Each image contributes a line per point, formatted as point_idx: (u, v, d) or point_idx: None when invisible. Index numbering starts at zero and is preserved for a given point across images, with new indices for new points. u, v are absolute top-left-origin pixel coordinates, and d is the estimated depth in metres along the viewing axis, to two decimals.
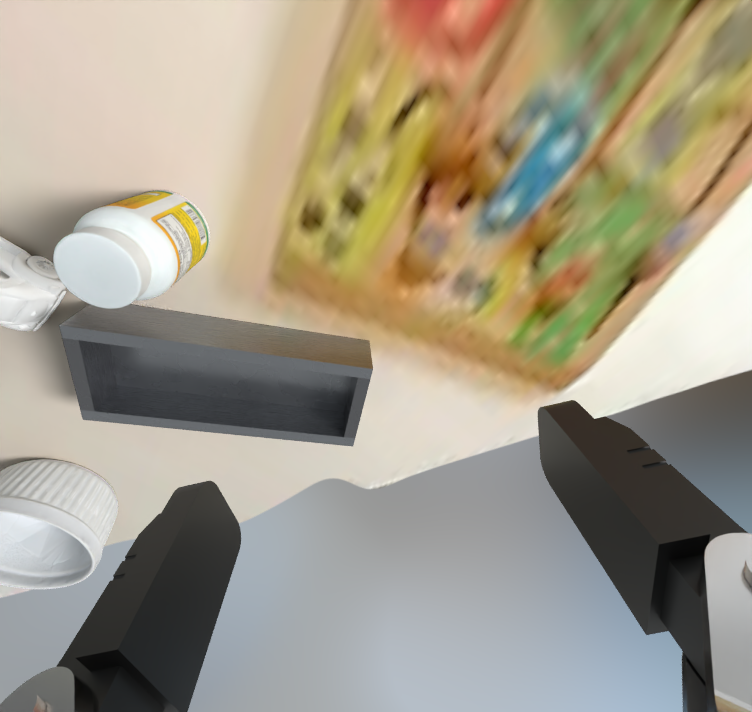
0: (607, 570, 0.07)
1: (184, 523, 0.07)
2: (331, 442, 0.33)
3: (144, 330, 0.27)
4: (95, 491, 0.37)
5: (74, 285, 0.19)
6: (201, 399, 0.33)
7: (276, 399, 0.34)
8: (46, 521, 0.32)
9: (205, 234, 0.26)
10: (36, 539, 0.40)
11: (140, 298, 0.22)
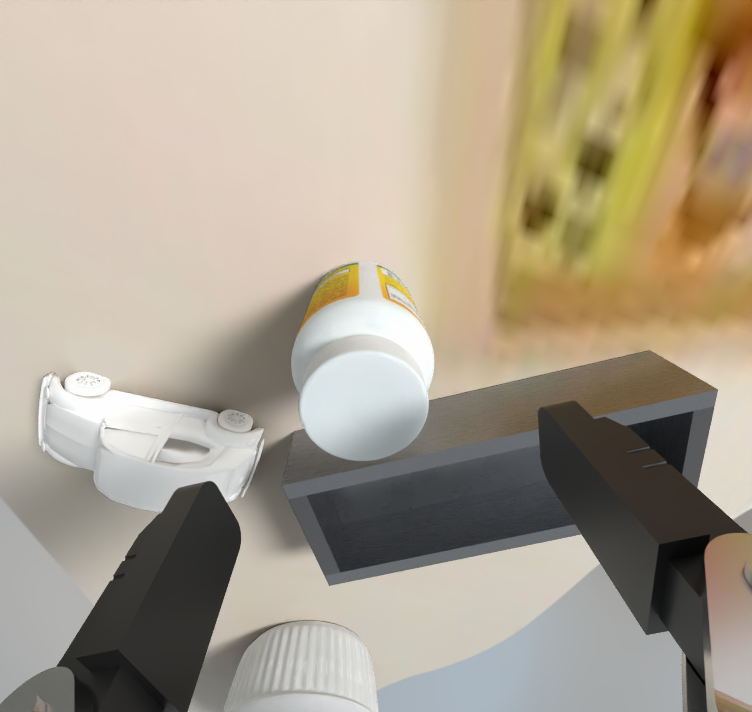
0: (607, 571, 0.07)
1: (184, 523, 0.07)
2: None
3: None
4: (347, 651, 0.30)
5: (334, 442, 0.12)
6: (445, 509, 0.24)
7: (538, 476, 0.24)
8: None
9: (411, 297, 0.18)
10: None
11: None
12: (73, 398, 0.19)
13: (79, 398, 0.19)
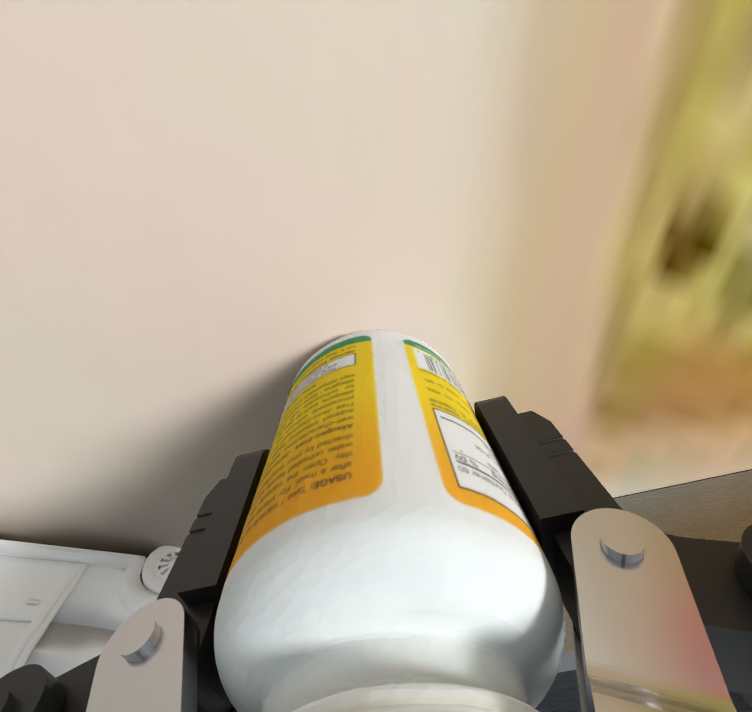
0: None
1: (252, 484, 0.08)
2: None
3: None
4: None
5: None
6: None
7: None
8: None
9: None
10: None
11: None
12: None
13: None
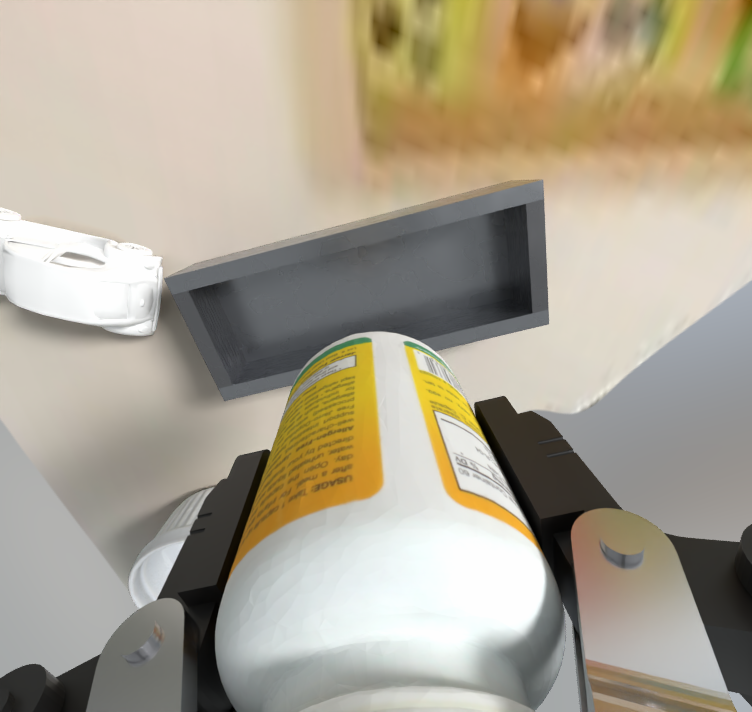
0: None
1: (252, 484, 0.08)
2: (517, 328, 0.24)
3: (250, 254, 0.22)
4: None
5: None
6: None
7: (423, 313, 0.27)
8: None
9: None
10: None
11: None
12: None
13: None
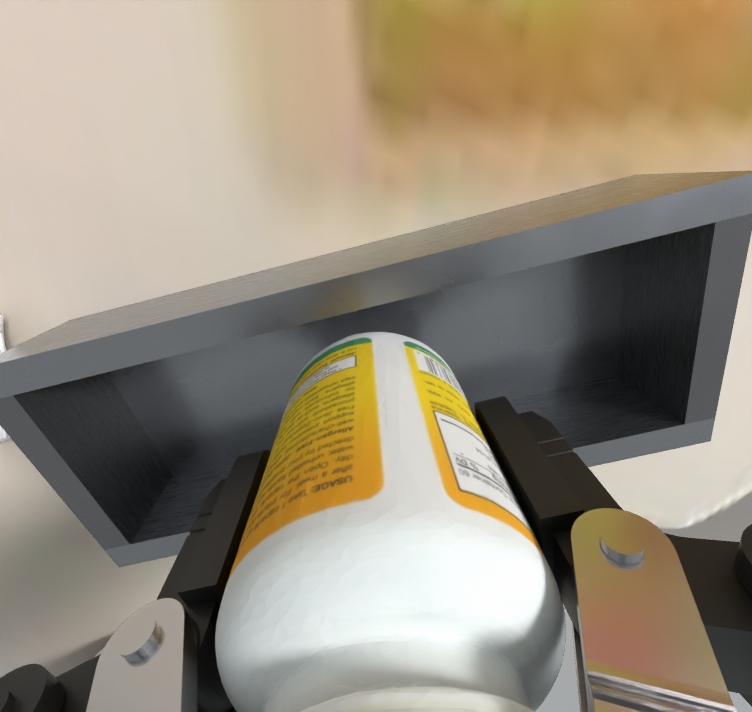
0: None
1: (252, 484, 0.08)
2: (652, 448, 0.13)
3: (140, 320, 0.11)
4: None
5: None
6: None
7: None
8: None
9: None
10: None
11: None
12: None
13: None
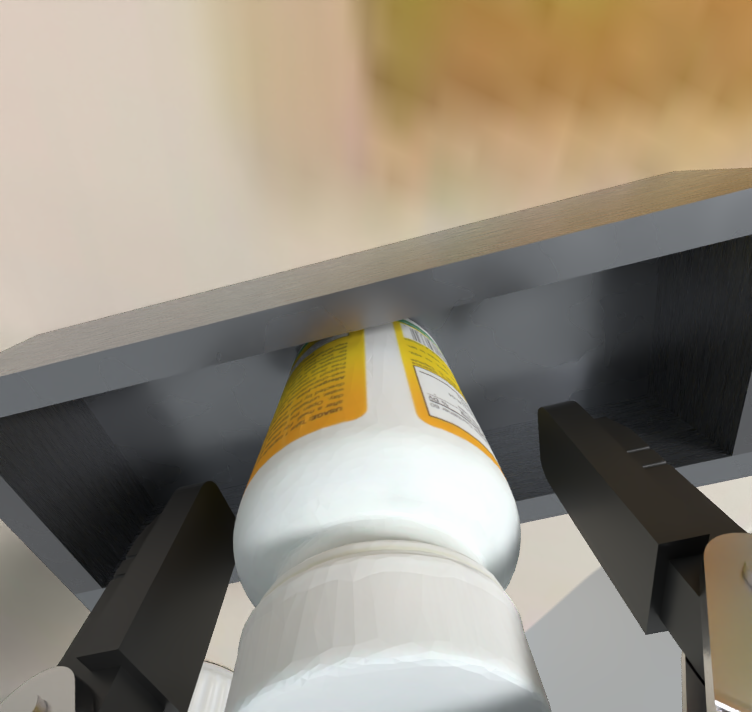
0: (606, 570, 0.07)
1: (184, 523, 0.07)
2: (694, 482, 0.11)
3: (106, 341, 0.09)
4: (209, 705, 0.20)
5: None
6: None
7: (479, 422, 0.14)
8: None
9: None
10: None
11: None
12: None
13: None
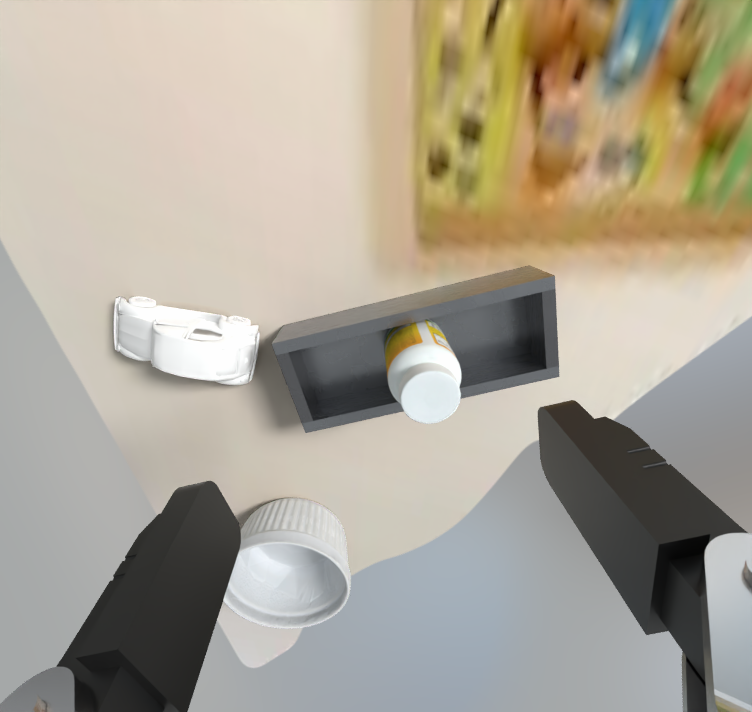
0: (607, 570, 0.07)
1: (184, 523, 0.07)
2: (535, 379, 0.31)
3: (334, 325, 0.29)
4: (324, 516, 0.39)
5: (416, 414, 0.24)
6: None
7: None
8: (301, 544, 0.34)
9: None
10: (288, 582, 0.42)
11: None
12: (135, 307, 0.30)
13: (138, 307, 0.30)
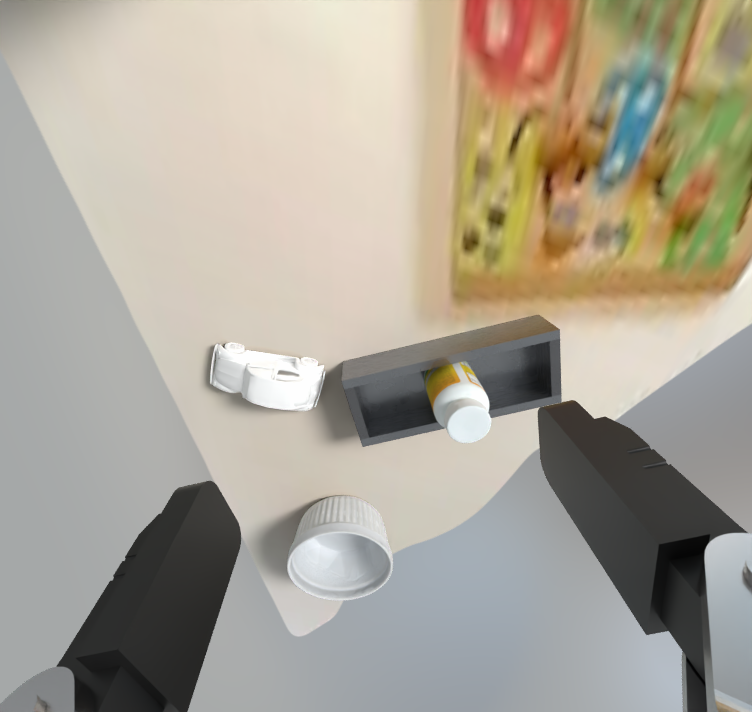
0: (607, 571, 0.07)
1: (184, 523, 0.07)
2: (542, 404, 0.39)
3: (389, 365, 0.37)
4: (369, 510, 0.48)
5: (457, 436, 0.33)
6: (428, 408, 0.42)
7: None
8: (357, 533, 0.43)
9: None
10: (336, 564, 0.52)
11: None
12: (231, 353, 0.38)
13: (234, 353, 0.38)
